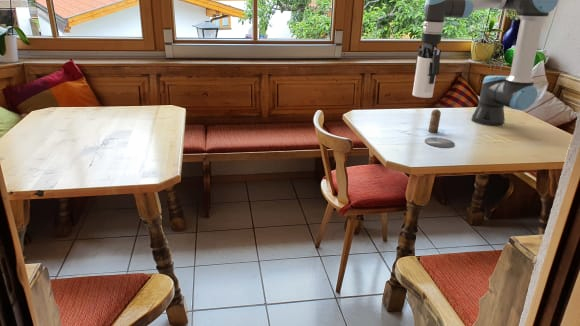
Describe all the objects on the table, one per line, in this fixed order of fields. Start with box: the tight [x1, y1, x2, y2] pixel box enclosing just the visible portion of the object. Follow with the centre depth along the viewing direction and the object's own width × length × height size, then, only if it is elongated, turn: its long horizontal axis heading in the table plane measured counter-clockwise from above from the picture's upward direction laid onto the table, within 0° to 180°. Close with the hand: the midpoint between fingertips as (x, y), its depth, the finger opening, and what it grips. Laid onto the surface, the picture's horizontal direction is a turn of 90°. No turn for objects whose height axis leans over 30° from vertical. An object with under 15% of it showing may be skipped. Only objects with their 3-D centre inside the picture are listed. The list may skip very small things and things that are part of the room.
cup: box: [411, 55, 437, 99], centre depth 178 cm, size 8×8×16 cm
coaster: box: [424, 136, 456, 149], centre depth 181 cm, size 12×12×1 cm
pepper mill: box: [428, 108, 442, 134], centre depth 194 cm, size 4×4×10 cm
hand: (423, 88), depth 180 cm, fingers closed on cup, 8 cm apart
